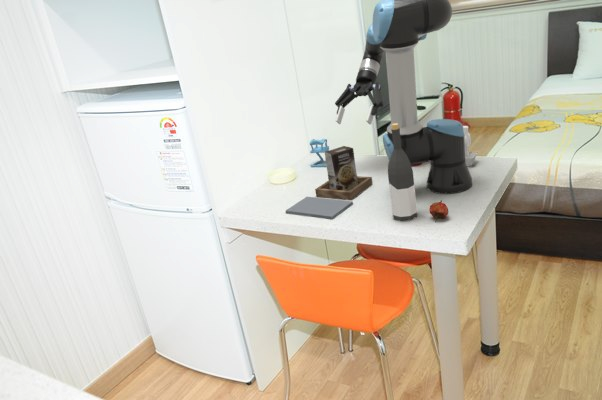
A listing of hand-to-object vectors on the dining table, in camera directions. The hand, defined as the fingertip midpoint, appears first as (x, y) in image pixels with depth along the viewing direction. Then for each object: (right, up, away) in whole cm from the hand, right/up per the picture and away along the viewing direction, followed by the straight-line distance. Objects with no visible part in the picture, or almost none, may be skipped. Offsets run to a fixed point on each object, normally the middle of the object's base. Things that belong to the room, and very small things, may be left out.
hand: (352, 122), depth 193 cm
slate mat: (-13, -32, -13) cm, 37 cm away
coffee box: (-3, -26, -1) cm, 26 cm away
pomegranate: (+23, -35, -37) cm, 56 cm away
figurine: (+44, -16, +2) cm, 46 cm away
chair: (-10, -13, +34) cm, 38 cm away
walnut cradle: (-3, -26, -1) cm, 26 cm away
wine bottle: (+13, -35, -31) cm, 48 cm away
